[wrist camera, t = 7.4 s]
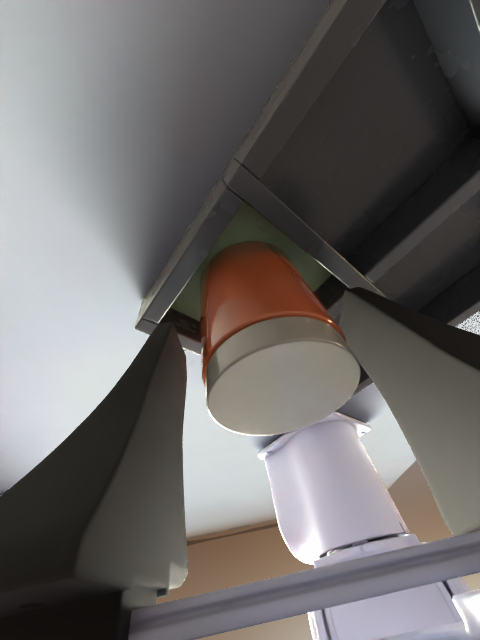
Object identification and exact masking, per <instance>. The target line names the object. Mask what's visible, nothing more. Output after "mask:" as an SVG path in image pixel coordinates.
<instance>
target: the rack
mask: <svg viewBox="0 0 480 640" xmlns="http://www.w3.org/2000/svg"><path fill="white" fill-rule="evenodd" d="M245 241H261V242H266V243H270V244H272V245H274V246H277V247H278V248H280V249H281V250H283V251H284V252H285V253H286V254H287V255H288V256H289V258H290V259H291V260H292V262H293V263H294V264H295V266H296V267H297V269H298V270H299V271H300V273H301V274H302V276H303V277H304V278H305V280H306V281H307V282H308V284H309V285H310V287H311V288H312V289H313V291H314V292H315V294H316V295H317V296H318V298H319V299H320V300H321V302H322V303H323V305H324V306H325V307H326V309H327V310H328V312H329V313H330V314H331V316H332V317H333V319H334V320H335V321H336V323H337V324H338V325H339V322H340V316H341V311H342V305H343V299H344V294H345V289H350V288H355V287H362V288H365V289H367V290H369V291H372V292H374V293H376V294H378V295H381V296H383V297H385V298H387V299H389V300H392V301H394V302H396V303H398V304H400V305H403V306H405V307H407V308H409V309H412V310H414V311H416V312H418V313H421V314H423V315H426V316H428V317H430V318H433V319H435V320H438V321H441V322H443V323H446V324H448V325H451V326H454V327H456V326H457V325H458V324H460V323H461V322H463V321H464V320H466V319H467V318H469V317H470V316H472V315H473V314H475V313H476V312H478V311H479V310H480V0H331V1H330V3H329V5H328V6H327V8H326V9H325V11H324V13H323V14H322V16H321V17H320V19H319V21H318V22H317V24H316V25H315V27H314V29H313V30H312V32H311V33H310V35H309V37H308V38H307V40H306V41H305V43H304V45H303V46H302V48H301V49H300V51H299V53H298V54H297V56H296V57H295V59H294V60H293V62H292V64H291V65H290V67H289V68H288V70H287V72H286V73H285V75H284V76H283V78H282V80H281V81H280V83H279V84H278V86H277V88H276V89H275V91H274V92H273V94H272V96H271V97H270V99H269V100H268V102H267V104H266V105H265V107H264V108H263V110H262V112H261V113H260V115H259V116H258V118H257V120H256V121H255V123H254V124H253V126H252V128H251V129H250V131H249V132H248V134H247V135H246V137H245V139H244V140H243V142H242V143H241V145H240V147H239V148H238V150H237V151H236V153H235V155H234V156H233V158H232V159H231V161H230V163H229V164H228V166H227V167H226V169H225V171H224V172H223V174H222V175H221V177H220V179H219V180H218V182H217V183H216V185H215V187H214V188H213V190H212V191H211V193H210V195H209V196H208V198H207V199H206V201H205V203H204V204H203V206H202V207H201V209H200V210H199V212H198V214H197V215H196V217H195V218H194V220H193V222H192V223H191V225H190V226H189V228H188V230H187V231H186V233H185V234H184V236H183V238H182V239H181V241H180V242H179V244H178V246H177V247H176V249H175V250H174V252H173V254H172V255H171V257H170V258H169V260H168V262H167V263H166V265H165V266H164V268H163V270H162V271H161V273H160V274H159V276H158V278H157V279H156V281H155V282H154V284H153V285H152V287H151V289H150V290H149V292H148V293H147V295H146V297H145V298H144V300H143V301H142V304H141V308H140V311H139V315H138V318H137V322H136V325H135V329H136V330H139V331H141V332H144V333H146V334H149V335H151V333H152V332H153V330H154V329H155V327H156V326H157V324H162V323H168V322H173V324H174V327H175V329H176V332H177V335H178V337H179V340H180V342H181V345H182V348H184V349H186V350H189V351H191V352H194V353H196V354H199V355H201V327H200V295H199V285H200V279H201V275H202V273H203V271H204V269H205V267H206V265H207V264H208V263H209V261H210V260H211V259H212V258H213V257H214V256H215V255H216V254H217V253H219V252H220V251H222V250H223V249H225V248H227V247H228V246H231V245H233V244H236V243H240V242H245ZM359 364H360V362H359ZM371 383H373V381H372V379H371V378H370V377H369V375H368V374H367V372H366V371H365V369H364V368H363V367H362V365H361V364H360V380H359V383H358V386H357V388H356V390H355V391H354V393H353V394H352V396H354V395H355V394H356V393H358V392H359V391H361V390H362V389H364V388H365V387H367V386H368V385H370V384H371ZM352 396H351V397H352ZM351 397H350V398H351Z"/></svg>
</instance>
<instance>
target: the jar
mask: <svg viewBox="0 0 480 640" xmlns="http://www.w3.org/2000/svg"><path fill="white" fill-rule="evenodd" d="M199 295H200V327H201V359H202V379H203V383H204V386H205V388H206V405H207V409H208V412H209V414H210V415H211V417H212V418H213V420H214V421H215V422H216V423H217V424H219V425H220V426H222V427H223V428H225V429H227V430H229V431H232V432H235V433H239V434H244V435H253V436H267V435H277V434H283V433H288V432H292V431H295V430H299V429H302V428H305V427H307V426H310V425H312V424H314V423H317V422H319V421H320V420H322V419H324V418H326V417H328V416H329V415H331V414H332V413H334V412H335V411H336V410H338V409H339V408H340V407H341V406H342V405H344V404H345V403H346V402H347V401H348V399H349V398H350V397H351V396H352V394H353V393H354V391H355V390H356V388H357V386H358V383H359V380H360V364H359V361H358V359H357V357H356V355H355V354H354V353H353V351H352V350H351V348H350V347H349V345H348V344H347V341H346V337H345V335H344V333H343V331H342V330H341V328H340V327H339V325H338V324H337V323H336V321H335V320H334V319H333V317H332V316H331V314H330V313H329V312H328V310H327V309H326V307H325V306H324V305H323V303H322V302H321V300H320V299H319V298H318V296H317V295H316V294H315V292H314V291H313V289H312V288H311V287H310V285H309V284H308V282H307V281H306V280H305V278H304V277H303V276H302V274H301V273H300V271H299V270H298V269H297V267H296V266H295V264H294V263H293V262H292V260H291V259H290V258H289V256H288V255H287V254H286V253H285V252H284V251H283V250H281V249H280V248H278V247H277V246H274V245H272V244H270V243H266V242H261V241H245V242H240V243H236V244H233V245H231V246H228V247H227V248H225V249H223V250H222V251H220V252H219V253H217V254H216V255H215V256H214V257H213V258H212V259H211V260H210V261H209V263H208V264H207V265H206V267H205V269H204V271H203V273H202V275H201V279H200V285H199Z"/></svg>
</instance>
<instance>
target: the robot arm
mask: <svg viewBox="0 0 480 640" xmlns="http://www.w3.org/2000/svg"><path fill="white" fill-rule="evenodd" d="M339 327H340V328H341V330H342V331H343V333H344V335H345V337H346V341H347V344H348V345H349V347H350V348H351V350H352V351H353V353H354V354H355V355H356V357H357V359H358V361H359V362H360V364H361V365H362V367H363V368H364V369H365V371H366V372H367V374H368V375H369V377H370V378H371V379H372V381H373V382H374V384H375V385H376V386H377V388H378V389H379V391H380V392H381V394H382V396H383V397H384V399H385V400H386V402H387V404H388V406H389V408H390V409H391V411H392V413H393V415H394V416H395V418H396V420H397V422H398V424H399V426H400V428H401V430H402V431H403V433H404V435H405V437H406V439H407V441H408V443H409V445H410V447H411V449H412V451H413V453H414V455H415V457H416V459H417V462H418V463H419V466H420V468H421V470H422V472H423V474H424V476H425V479H426V481H427V483H428V485H429V488H430V490H431V492H432V494H433V497H434V499H435V501H436V504H437V506H438V508H439V511H440V513H441V516H442V518H443V520H444V522H445V524H446V525H447V527H448V528H449V530H450V532H451V533H452V535H453V536H454V537H450V538H445V539H442V540H437V541H433V542H422V543H420V542H419V540H418V538H417V537H416V535H415V534H410V532H409V530H408V528H407V527H406V525H405V523H404V521H403V519H402V517H401V515H400V513H399V512H398V510H397V508H396V506H395V504H394V502H393V500H392V498H391V496H390V494H389V493H388V491H387V489H386V487H385V485H384V483H383V481H382V479H381V477H380V476H379V474H378V472H377V470H376V468H375V466H374V464H373V462H372V460H371V459H370V457H369V455H368V453H367V451H366V449H365V447H364V445H363V443H362V441H361V440H360V438H359V437H360V436H362V435H363V434H365V433H367V432H368V431H370V430H371V427H370V425H368V424H366V423H363V422H361V421H358V420H356V419H353V418H351V417H348V416H345V415H343V414H340V413H338V412H334V413H332V414H331V415H329V416H328V417H326V418H324V419H322V420H320V421H319V422H317V423H314V424H312V425H310V426H307V427H305V428H302V429H299V430H295V431H292V432H288V433H286V434H284V435H283V436H281V437H280V438H278V439H277V440H275V441H274V442H273V443H271V444H270V445H268V446H267V447H265V448H264V449H263V450H261V451H260V452H259V453H258V457H259V458H261V459H264V460H265V464H266V469H267V474H268V479H269V483H270V488H271V493H272V498H273V502H274V507H275V512H276V517H277V521H278V525H279V528H280V531H281V534H282V536H283V539H284V541H285V543H286V545H287V546H288V548H289V549H290V551H291V552H292V553H293V555H294V556H295V557H296V558H298V559H299V560H301V561H302V562H304V563H308V564H314V569H310V570H306V571H301V572H297V573H292V574H288V575H284V576H279V577H275V578H270V579H266V580H262V581H257V582H253V583H248V584H244V585H240V586H235V587H231V588H227V589H222V590H218V591H213V592H209V593H205V594H201V595H196V596H192V597H187V598H183V599H178V600H174V601H170V602H165V603H161V604H157V605H156V598H157V597H162V596H166V595H168V594H169V589H173V588H177V587H180V586H181V585H182V583H183V581H184V579H185V578H186V576H187V574H188V559H187V543H186V529H185V510H184V488H183V451H182V436H183V420H184V408H185V396H186V383H187V369H186V355H185V353H184V350H183V348H182V345H181V342H180V340H179V337H178V335H177V332H176V329H175V327H174V324H173V322H168V323H162V324H157V326H156V327H155V329H154V330H153V332H152V333H151V335H150V336H149V338H148V340H147V341H146V343H145V344H144V346H143V347H142V349H141V350H140V352H139V353H138V355H137V356H136V358H135V359H134V361H133V362H132V364H131V365H130V366H129V368H128V369H127V371H126V372H125V373H124V375H123V376H122V377H121V378H120V380H119V381H118V382H117V384H116V385H115V386H114V388H113V389H112V390H111V391H110V393H109V394H108V395H107V396H106V397H105V398H104V400H103V401H102V402H101V403H100V404H99V405H98V406H97V407H96V409H95V410H94V411H93V412H92V413H91V414H90V415H89V416H88V417H87V418H86V419H85V420H84V421H83V422H82V423H81V424H80V425H79V426H78V427H77V428H76V429H75V430H74V431H73V432H72V433H71V434H70V435H69V436H68V437H67V438H66V439H65V440H64V441H63V442H62V443H61V444H60V445H59V446H58V447H57V448H56V449H55V450H54V451H53V452H51V453H50V454H49V455H48V456H47V457H46V458H45V459H44V460H43V461H42V462H40V463H39V464H38V465H37V466H36V467H35V468H34V469H32V470H31V471H30V472H29V473H28V474H27V475H26V476H24V477H23V478H22V479H21V480H20V481H18V482H17V483H16V484H15V485H14V486H13V487H11V488H10V489H9V490H8V491H6V492H5V493H4V494H3V495H1V496H0V640H194V639H198V638H203V637H207V636H211V635H215V634H219V633H224V632H228V631H233V630H237V629H241V628H245V627H250V626H254V625H258V624H262V623H267V622H271V621H275V620H279V619H284V618H288V617H292V616H296V615H301V614H305V613H308V615H309V621H310V626H311V631H312V636H313V640H480V588H479V589H475V590H471V591H470V590H469V588H468V587H467V585H466V583H465V582H464V580H463V579H462V576H466V575H471V574H475V573H479V572H480V335H477V334H474V333H471V332H468V331H465V330H462V329H459V328H456V327H454V326H451V325H448V324H446V323H443V322H441V321H438V320H435V319H433V318H430V317H428V316H426V315H423V314H421V313H418V312H416V311H414V310H412V309H409V308H407V307H405V306H403V305H400V304H398V303H396V302H394V301H392V300H389V299H387V298H385V297H383V296H381V295H378V294H376V293H374V292H372V291H369V290H367V289H365V288H362V287H355V288H350V289H345V294H344V299H343V305H342V311H341V316H340V322H339Z"/></svg>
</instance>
